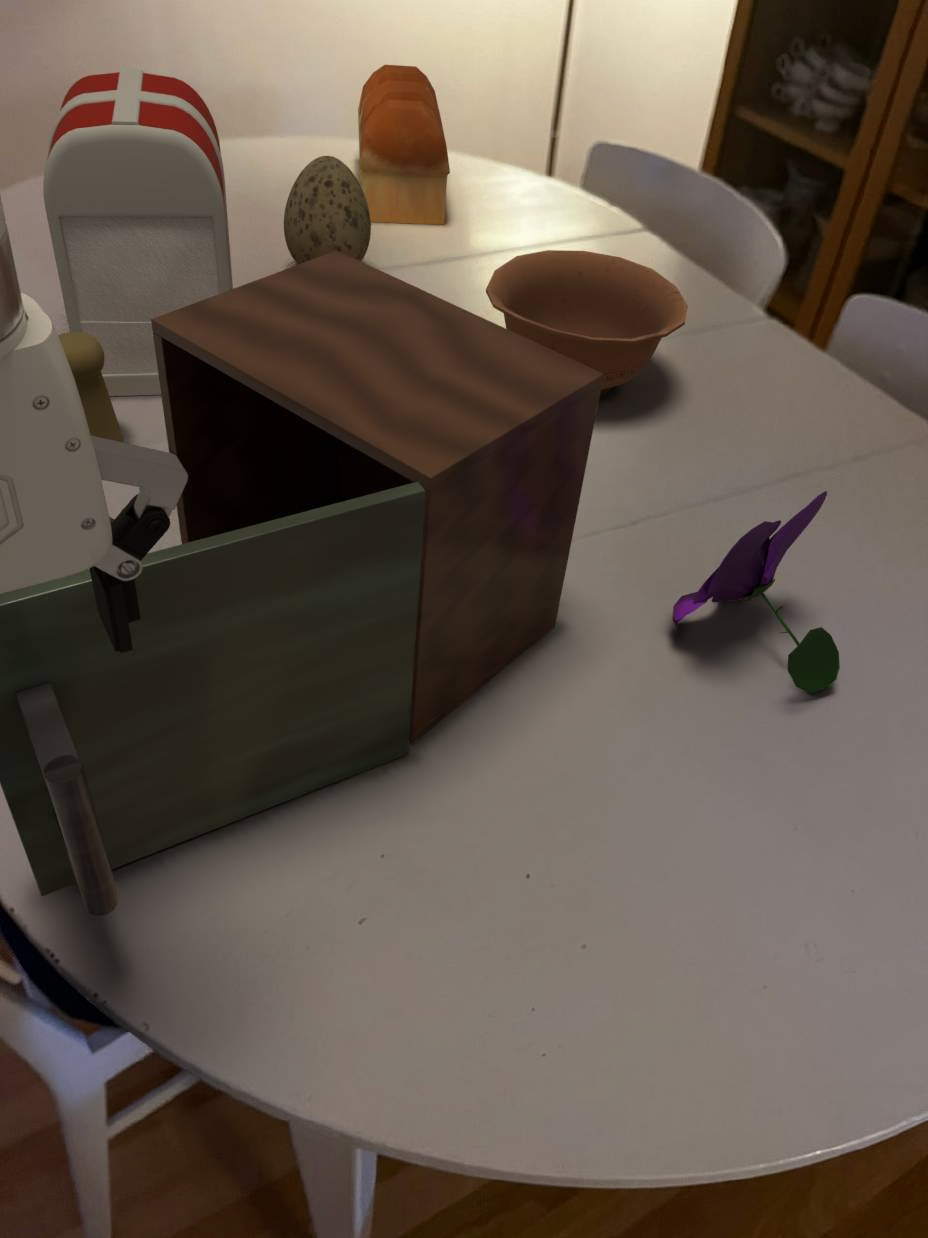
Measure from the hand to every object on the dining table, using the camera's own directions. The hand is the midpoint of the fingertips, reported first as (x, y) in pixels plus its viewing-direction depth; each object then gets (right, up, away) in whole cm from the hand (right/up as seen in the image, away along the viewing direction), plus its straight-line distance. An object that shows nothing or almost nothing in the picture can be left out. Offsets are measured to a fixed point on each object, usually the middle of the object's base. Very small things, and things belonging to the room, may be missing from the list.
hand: (3, 664), depth 44 cm
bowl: (+32, +29, +73) cm, 85 cm away
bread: (+10, +67, +111) cm, 130 cm away
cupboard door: (+6, -14, +24) cm, 28 cm away
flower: (+45, -1, +42) cm, 62 cm away
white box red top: (-14, +32, +70) cm, 78 cm away
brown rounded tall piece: (-17, +19, +57) cm, 62 cm away
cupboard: (+12, +3, +43) cm, 44 cm away
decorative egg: (+2, +46, +88) cm, 99 cm away
